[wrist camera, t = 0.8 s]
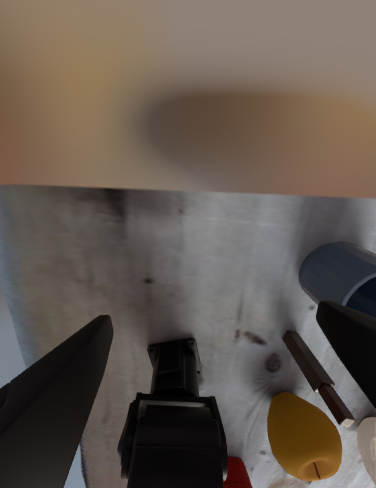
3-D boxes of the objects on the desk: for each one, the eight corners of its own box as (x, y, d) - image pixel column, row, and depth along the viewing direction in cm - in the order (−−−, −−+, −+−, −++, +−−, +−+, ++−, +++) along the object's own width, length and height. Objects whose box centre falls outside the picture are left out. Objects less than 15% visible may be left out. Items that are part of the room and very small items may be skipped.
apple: (321, 380, 30) (375, 460, 22) (299, 417, 33) (340, 500, 25) (265, 374, 29) (300, 455, 21) (248, 412, 32) (272, 497, 24)
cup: (359, 292, 25) (417, 332, 19) (298, 303, 25) (336, 345, 19) (367, 235, 22) (437, 259, 16) (299, 248, 23) (342, 276, 16)
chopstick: (297, 332, 27) (360, 418, 18) (292, 341, 27) (350, 429, 18) (287, 330, 27) (345, 416, 17) (281, 338, 27) (335, 427, 18)
